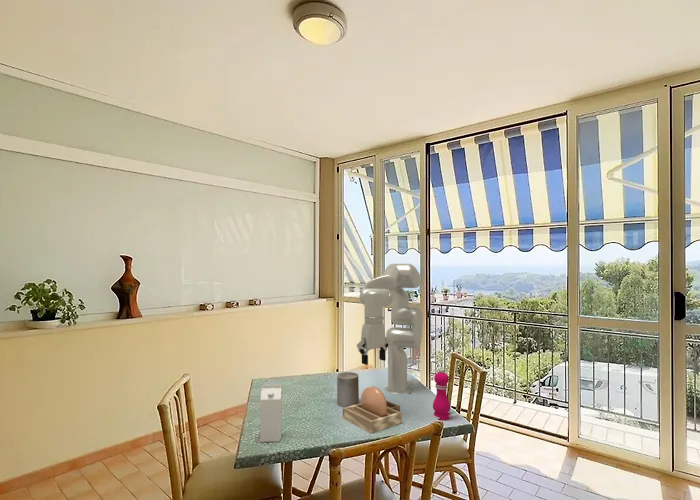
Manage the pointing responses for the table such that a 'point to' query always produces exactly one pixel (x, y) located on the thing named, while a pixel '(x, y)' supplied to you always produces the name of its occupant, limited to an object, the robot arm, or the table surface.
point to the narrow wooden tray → (393, 406)
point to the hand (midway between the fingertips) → (373, 362)
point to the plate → (374, 401)
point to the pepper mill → (441, 396)
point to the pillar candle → (347, 389)
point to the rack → (371, 418)
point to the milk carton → (271, 413)
